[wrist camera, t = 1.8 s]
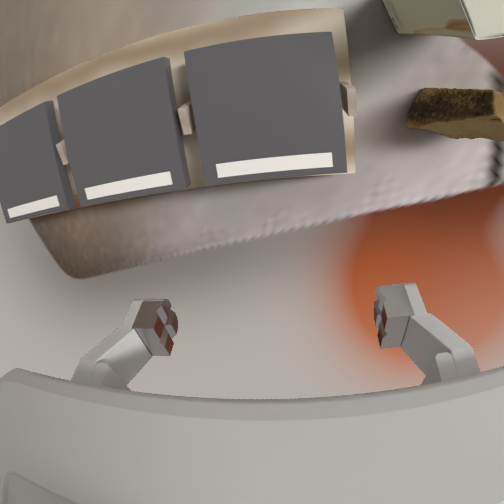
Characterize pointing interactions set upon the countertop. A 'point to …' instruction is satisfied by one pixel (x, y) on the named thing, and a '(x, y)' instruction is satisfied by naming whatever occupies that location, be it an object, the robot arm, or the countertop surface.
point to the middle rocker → (124, 134)
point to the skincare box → (448, 17)
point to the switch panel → (174, 49)
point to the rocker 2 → (267, 108)
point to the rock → (459, 113)
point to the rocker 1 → (32, 166)
